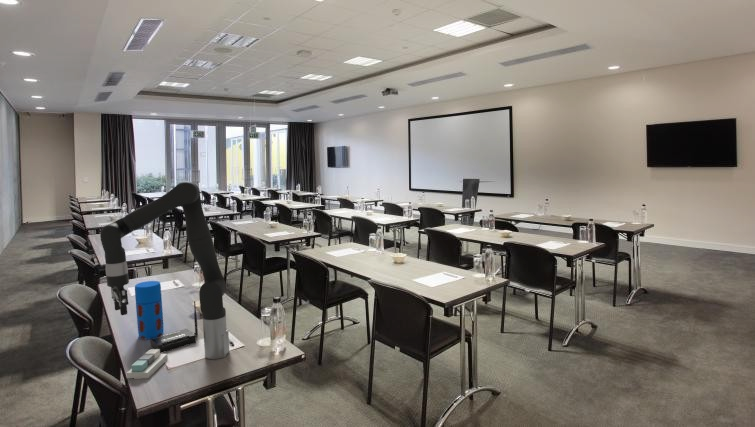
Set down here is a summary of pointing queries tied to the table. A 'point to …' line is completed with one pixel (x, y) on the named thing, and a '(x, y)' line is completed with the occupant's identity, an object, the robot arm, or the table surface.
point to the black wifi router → (175, 338)
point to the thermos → (149, 309)
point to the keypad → (148, 368)
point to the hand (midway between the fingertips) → (121, 312)
